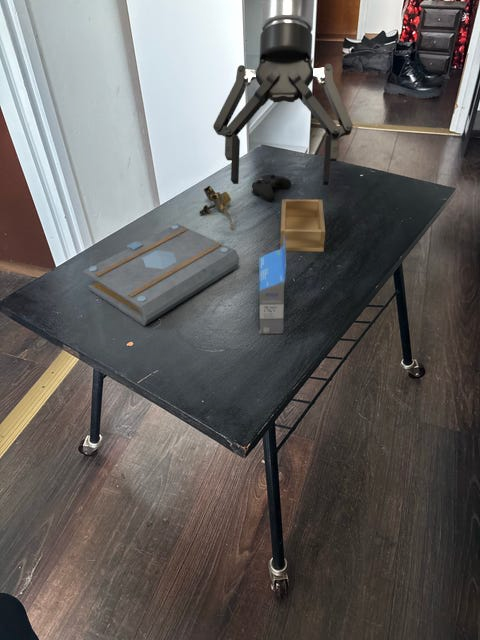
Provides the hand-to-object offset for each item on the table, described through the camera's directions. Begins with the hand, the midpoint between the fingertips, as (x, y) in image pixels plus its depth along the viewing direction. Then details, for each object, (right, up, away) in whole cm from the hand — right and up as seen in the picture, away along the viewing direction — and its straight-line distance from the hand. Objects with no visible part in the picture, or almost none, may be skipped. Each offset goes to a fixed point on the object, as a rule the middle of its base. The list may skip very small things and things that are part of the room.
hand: (279, 183), depth 71 cm
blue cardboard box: (-1, -20, +4) cm, 20 cm away
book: (-19, -14, +13) cm, 27 cm away
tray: (+6, -3, +23) cm, 24 cm away
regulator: (-10, +2, +31) cm, 33 cm away
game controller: (+1, +9, +39) cm, 40 cm away
